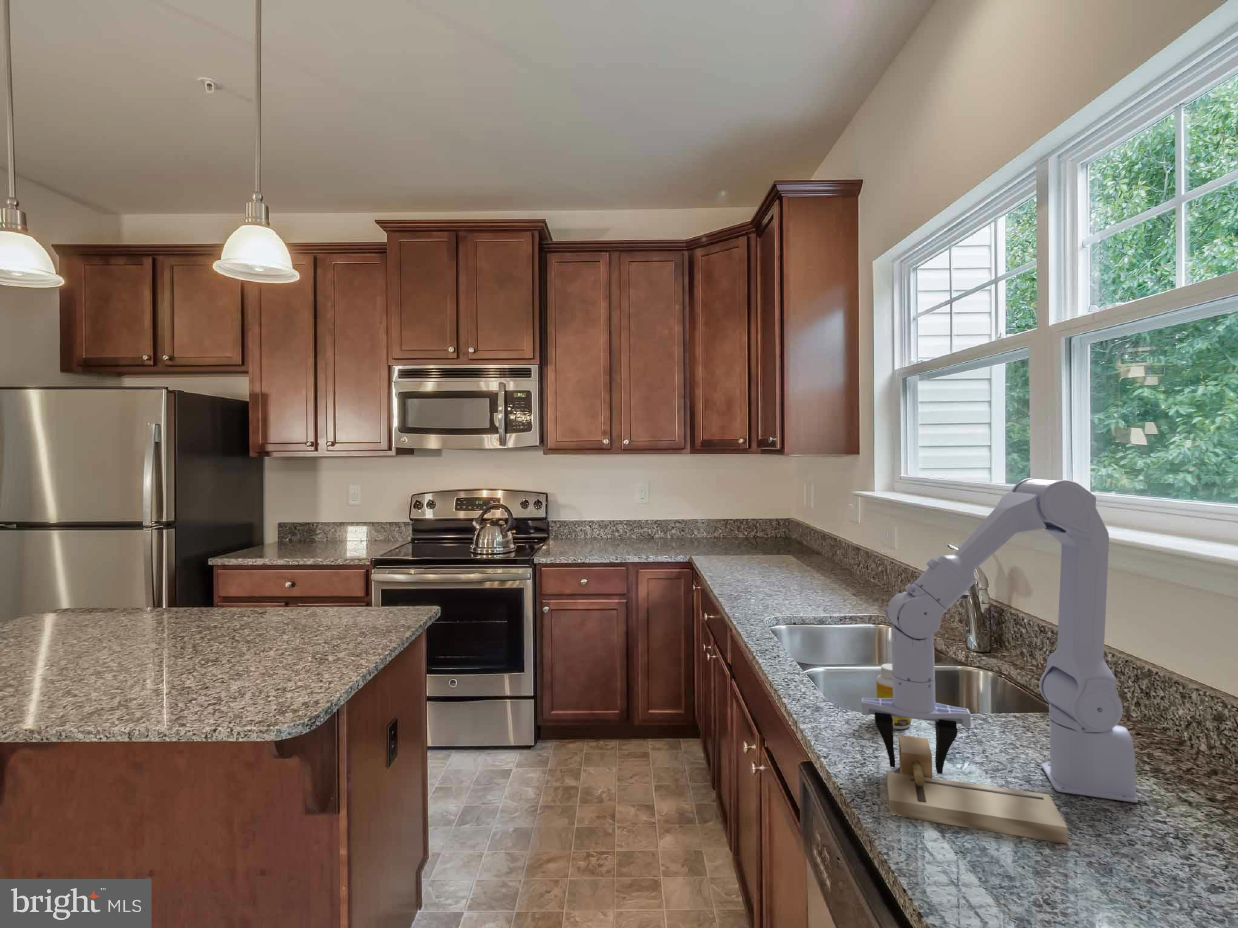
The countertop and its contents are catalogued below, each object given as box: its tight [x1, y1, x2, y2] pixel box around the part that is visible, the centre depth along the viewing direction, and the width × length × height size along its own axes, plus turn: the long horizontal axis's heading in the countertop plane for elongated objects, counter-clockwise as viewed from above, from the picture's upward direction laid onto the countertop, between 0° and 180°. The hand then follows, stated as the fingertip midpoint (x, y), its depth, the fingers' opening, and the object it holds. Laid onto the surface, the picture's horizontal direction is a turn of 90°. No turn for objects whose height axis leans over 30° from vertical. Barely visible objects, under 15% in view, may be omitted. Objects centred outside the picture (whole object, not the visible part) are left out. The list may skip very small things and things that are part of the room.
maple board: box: [886, 771, 1069, 845], centre depth 84 cm, size 20×8×2 cm, turn 69°
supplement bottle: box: [876, 663, 912, 730], centre depth 113 cm, size 6×6×10 cm
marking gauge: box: [898, 734, 933, 787], centre depth 91 cm, size 4×11×5 cm, turn 159°
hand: (915, 767), depth 94 cm, fingers open, 6 cm apart
